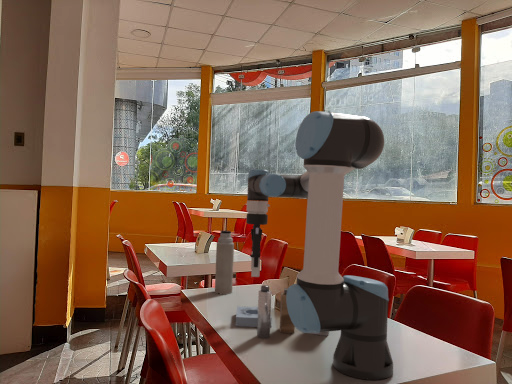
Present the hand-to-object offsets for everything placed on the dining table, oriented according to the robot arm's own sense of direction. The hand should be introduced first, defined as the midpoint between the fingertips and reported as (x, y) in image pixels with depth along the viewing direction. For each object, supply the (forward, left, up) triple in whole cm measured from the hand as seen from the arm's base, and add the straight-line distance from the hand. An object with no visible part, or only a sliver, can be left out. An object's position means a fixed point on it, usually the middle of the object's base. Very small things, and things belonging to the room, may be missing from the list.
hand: (254, 273), depth 142 cm
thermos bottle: (+42, +13, -17) cm, 47 cm away
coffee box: (-9, -22, -17) cm, 29 cm away
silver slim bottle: (-16, -3, -17) cm, 23 cm away
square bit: (-10, -11, -17) cm, 22 cm away
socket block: (0, 0, -17) cm, 17 cm away
